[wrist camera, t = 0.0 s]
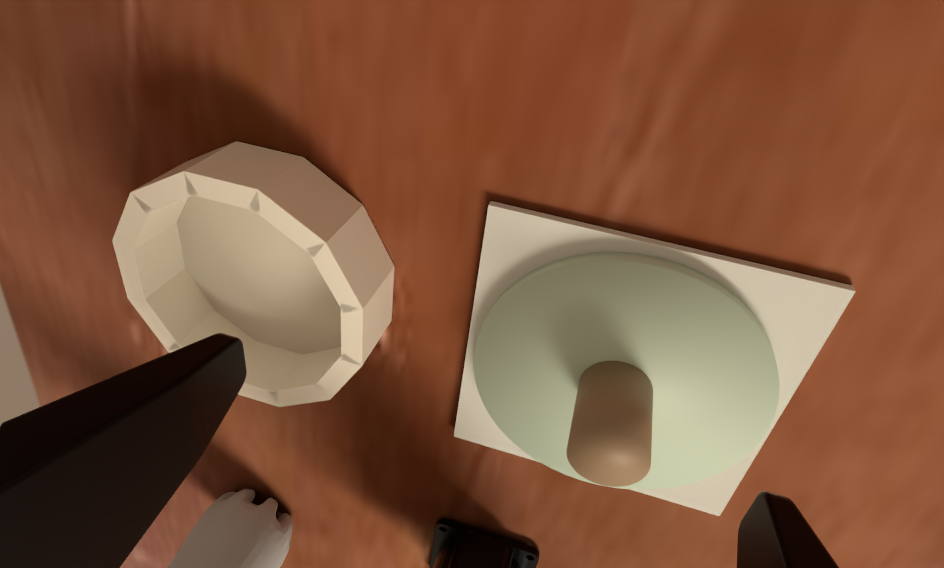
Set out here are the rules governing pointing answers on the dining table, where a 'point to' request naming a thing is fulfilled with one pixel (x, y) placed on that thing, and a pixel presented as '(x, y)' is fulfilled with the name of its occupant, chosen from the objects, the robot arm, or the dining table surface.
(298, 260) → the bowl
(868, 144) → the dining table surface
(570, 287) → the lid
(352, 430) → the dining table surface
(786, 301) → the mat
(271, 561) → the bottle
